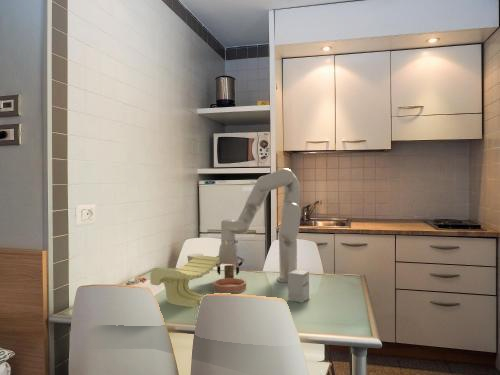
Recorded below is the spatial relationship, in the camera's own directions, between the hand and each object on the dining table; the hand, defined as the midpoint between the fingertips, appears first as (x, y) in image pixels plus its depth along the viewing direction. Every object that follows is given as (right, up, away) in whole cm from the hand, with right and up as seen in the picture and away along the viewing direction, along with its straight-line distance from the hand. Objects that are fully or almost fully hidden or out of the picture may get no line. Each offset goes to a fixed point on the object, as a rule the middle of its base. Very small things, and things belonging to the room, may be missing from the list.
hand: (228, 274), depth 217 cm
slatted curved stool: (-17, -5, -33) cm, 38 cm away
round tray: (+2, -4, -16) cm, 17 cm away
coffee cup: (-19, -4, +12) cm, 23 cm away
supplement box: (+34, -4, -34) cm, 49 cm away
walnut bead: (+1, -4, 0) cm, 4 cm away
